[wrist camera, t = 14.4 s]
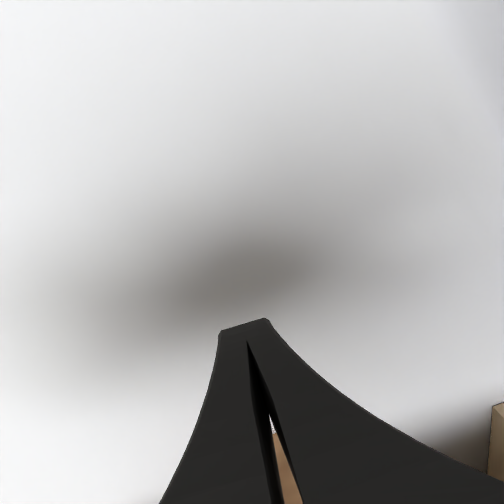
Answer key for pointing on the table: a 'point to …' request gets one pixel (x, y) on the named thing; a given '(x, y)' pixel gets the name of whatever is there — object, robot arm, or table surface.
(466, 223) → the table surface
